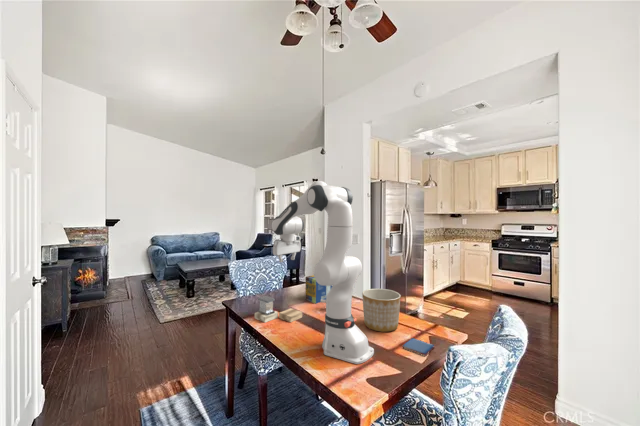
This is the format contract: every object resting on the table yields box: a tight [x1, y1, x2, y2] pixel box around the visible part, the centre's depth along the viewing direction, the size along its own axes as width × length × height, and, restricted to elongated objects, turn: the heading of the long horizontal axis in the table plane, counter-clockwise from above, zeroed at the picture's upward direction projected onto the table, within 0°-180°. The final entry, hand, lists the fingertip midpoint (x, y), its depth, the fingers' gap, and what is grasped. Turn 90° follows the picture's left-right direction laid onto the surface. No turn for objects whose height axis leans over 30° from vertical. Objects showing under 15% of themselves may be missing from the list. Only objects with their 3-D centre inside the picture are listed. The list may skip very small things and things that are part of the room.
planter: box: [361, 288, 402, 333], centre depth 141 cm, size 19×19×16 cm
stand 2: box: [278, 307, 303, 323], centre depth 151 cm, size 9×9×3 cm
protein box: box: [305, 274, 333, 305], centre depth 182 cm, size 10×15×16 cm
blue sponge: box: [401, 337, 435, 357], centre depth 119 cm, size 10×11×2 cm
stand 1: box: [254, 310, 279, 323], centre depth 151 cm, size 9×9×3 cm
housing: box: [257, 295, 276, 316], centre depth 151 cm, size 8×5×8 cm, turn 50°
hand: (287, 260), depth 164 cm, fingers open, 8 cm apart
